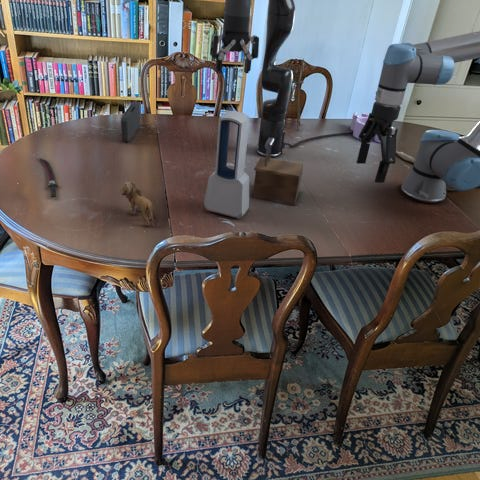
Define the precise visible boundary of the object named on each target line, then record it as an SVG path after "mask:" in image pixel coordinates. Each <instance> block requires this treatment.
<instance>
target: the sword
mask: <svg viewBox="0 0 480 480" xmlns="http://www.w3.org/2000/svg"><path fill="white" fill-rule="evenodd" d="M40 161H41V162H42V163H43V165H44V166H45V169H46V173H47V176H48V185H47V188H50V198H56V197H57V189H56V188H57V187H59V185H58V184H57V183H56V180H55V176H54V172H53V169H52V167H51V164H50V163H49V161H48V160H46V159H43V158H40Z"/></svg>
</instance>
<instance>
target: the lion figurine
mask: <svg viewBox="0 0 480 480" xmlns="http://www.w3.org/2000/svg"><path fill="white" fill-rule="evenodd" d="M119 193H120V194H121V196H122V197H124V196H125V198H126V199H127V200H128V202H129V203H130V207H131V211H130V212H129V213H130V215H135V214H136V211H137V212H141V214H142V216H143V218H144V219H145V223H144V225H145V227H149V226H150V221H152V223H153V225H155V226H159V222H156V221H155V219H154V217H153V216H154V215H153V204H152V202H151V200H150V199H148V198H146V197H145V196H144V195H143V194H142V192H141V190H140V187H138V185H136V184H135V183H133V182H132V181H125V182H124V186H122V188H121V189H119ZM136 207H137V208H136ZM148 214H149V216H148Z"/></svg>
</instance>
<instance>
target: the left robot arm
mask: <svg viewBox="0 0 480 480" xmlns="http://www.w3.org/2000/svg"><path fill="white" fill-rule="evenodd" d="M252 1H253V0H225V1H224V8H223V26H222V27H223V28H222V34H221V35H220V34H219V35H218V34H215V33H212V34H211V39H210V40H211V41H210V48H209V49H210V50H209V55H210V57H212V58H213V59H215V70H216V71H217V73H218V74H222V73H223V58H224V57H225V56H226V55H227V54H228V53H229V52H230V53H234V52H237V53H241V52H242V53H243V56H244V57H245V59H244V67H243V72H244V73H245V74H249V72H251V70H252V61H253V60H255V59H258V58H259V51H260V49H259V48H260V37H259V36H257V35H255V34H254V35H252V36H250V29H251V20H252V19H251V17H252V8H253V7H252V6H253V2H252ZM295 16H296V4H295V1H294V0H268V6H267V15H266V17H267V18H266V32H265V33H266V35H265V48H264V55H263V60H262V67H261V75H260V84H261V88H262V89H263V90H264V91H267V92H271V93H276V95H277V96H276V98H272V99H271V98H270V99H266V100H264V101H263V102H262V105H261V114H260V123H259V131H258V138H257V139H258V140H257V143H256V153H257V154H258V155H259V156H261V157H266V148H265V144H266V142H267V140H268V139H269V138H270V137H272V138H274V143H273V145H272V146H271V153H270V158H277V157H279V156H281V155H282V154H283V150H284V149H285V147H286V146H288V147H289V148H296V147H297V146H298V145H301V144H302V143H305V142H309V141H313V140H317V139H322V138H329V137H335V136H336V137H337V136H345V135H353V132H354V131H347V132H337V133H330V134H322V135H318V136H313V137H309V138H305V139H302V140H299V141H298V142H296V143H294V144H291V143H290V142H285V136H286V130H284V128H285V122H286V120H285V119H286V117H287V116H286V115H287V114H286V109H287V105H288V102H289V100H290V96H291V95H290V94H291V92H292V85H293V83H292V82H293V80H294V74H293V73H294V72H293V71H292V70H291V69H289V67H285V66H280V65H277V64H276V61H277V56H278V53H279V51H280V49H281V48H282V46H283V45H284V44H285V42H286V41H287V39H288V38H289V37H290V35H291V34H292V31H293V29H294V25H295ZM221 41H222V43H223V44H222V45H221V46H220V48H219V50H218V45H219V44H220V43H221ZM249 43H250V44H251V53H250V50H249V48H248V47H247V45H248V44H249ZM285 116H286V117H285Z"/></svg>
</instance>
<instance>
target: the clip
mask: <svg viewBox="0 0 480 480" xmlns="http://www.w3.org/2000/svg"><path fill="white" fill-rule="evenodd" d="M358 114H359V113H358V112H353V114H352V118H351V122H350V126H349V129H350V130H351V131H352V132H353V134H352V136H353V137H354V138H356V139H358V140H361V138H359V134H360V132H361V131H362V129H363V127H364V125H365V123H366V121H367V120H368V116H369V113H366V112H361V115H358ZM363 135H365V134H363ZM373 140H374V142H376V143H380V140H379V139H378V136H377V134H376V135H375V136H374V138H373Z"/></svg>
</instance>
